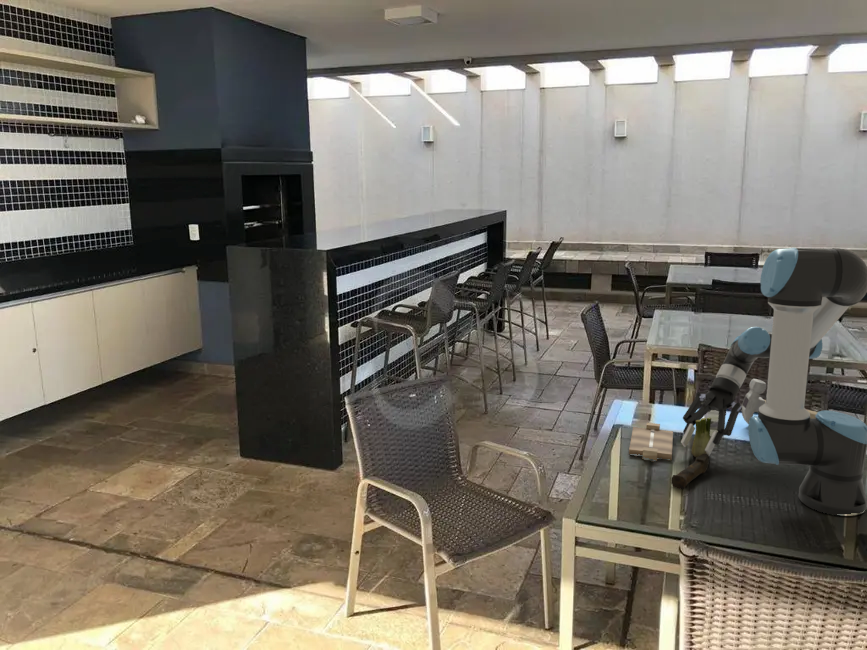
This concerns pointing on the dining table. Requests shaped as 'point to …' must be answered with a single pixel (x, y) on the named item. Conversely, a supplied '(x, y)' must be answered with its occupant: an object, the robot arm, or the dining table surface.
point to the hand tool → (690, 472)
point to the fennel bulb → (701, 437)
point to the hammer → (757, 400)
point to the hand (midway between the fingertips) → (695, 448)
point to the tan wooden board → (651, 442)
